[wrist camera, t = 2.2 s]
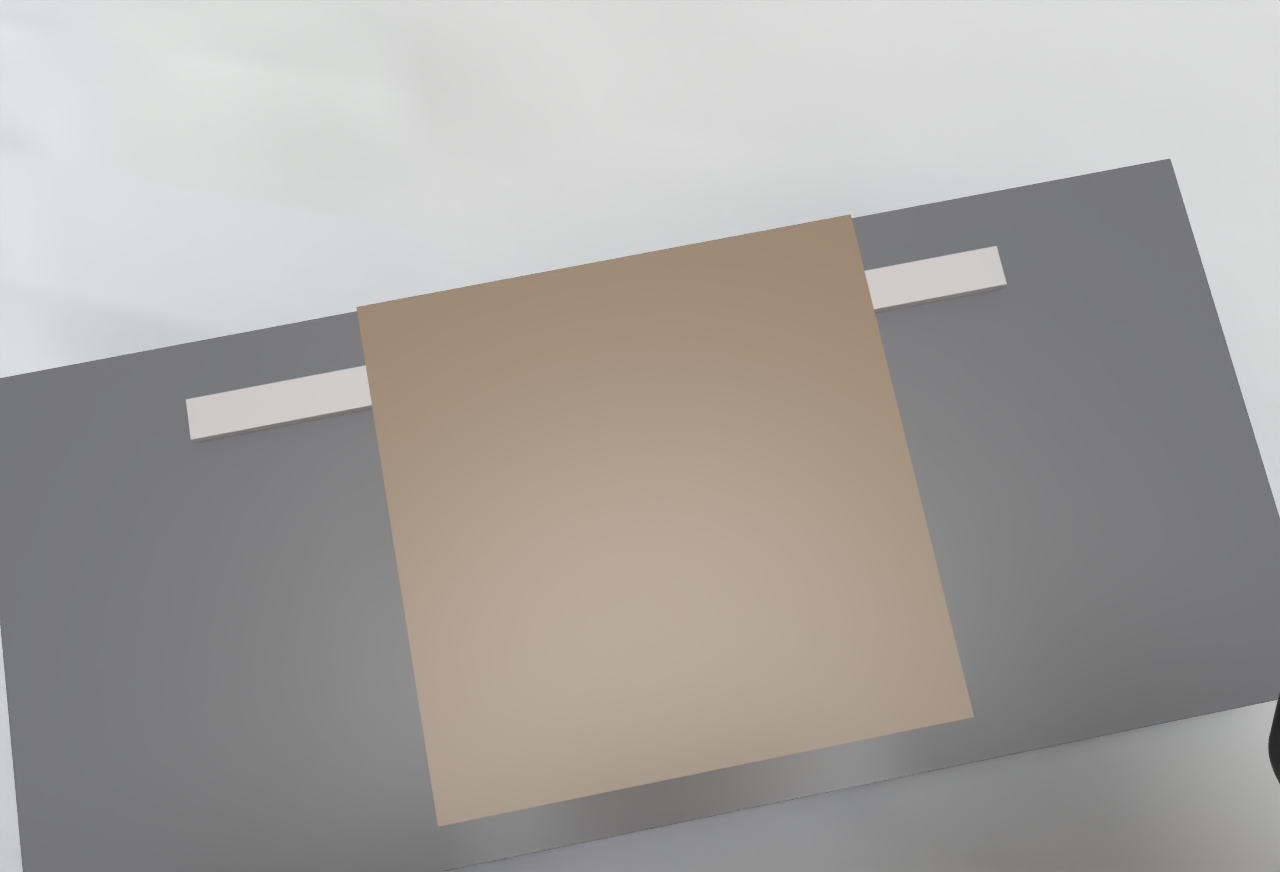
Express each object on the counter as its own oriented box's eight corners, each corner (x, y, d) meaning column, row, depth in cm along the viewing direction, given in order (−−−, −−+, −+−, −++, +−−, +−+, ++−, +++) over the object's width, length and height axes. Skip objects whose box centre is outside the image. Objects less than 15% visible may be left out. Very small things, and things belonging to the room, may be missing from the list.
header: (1243, 688, 19) (1339, 688, 17) (111, 920, 19) (23, 959, 16) (1107, 220, 21) (1175, 152, 18) (58, 419, 20) (-29, 379, 18)
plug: (800, 699, 19) (975, 716, 9) (545, 751, 19) (438, 826, 9) (745, 449, 20) (850, 215, 10) (500, 497, 19) (357, 307, 10)
